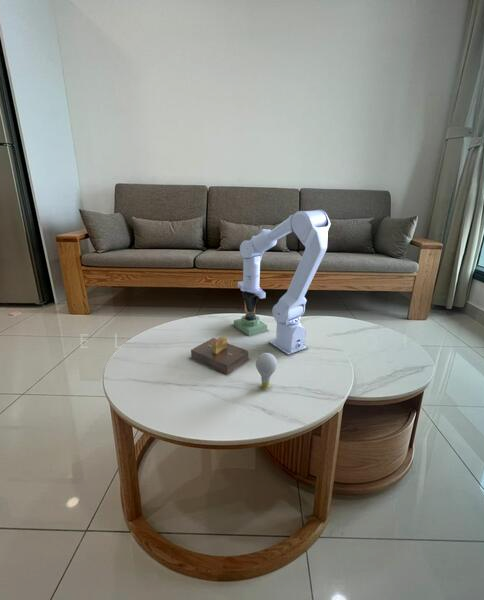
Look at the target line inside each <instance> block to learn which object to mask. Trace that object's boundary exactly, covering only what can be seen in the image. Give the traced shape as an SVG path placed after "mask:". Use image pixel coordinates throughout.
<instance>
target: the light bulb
mask: <svg viewBox="0 0 484 600" xmlns="http://www.w3.org/2000/svg"><path fill="white" fill-rule="evenodd" d="M277 367H278V361H277V358H276V356H275V355H274V354H272V353H271V352H263V353H261V354H259V355H258V356H257V358H256V360H255V369H256V370H257V372H258V373H259V375H260V377H261V379H260V380H261V388H263V389H268V388H269V387H270V386H271V385H270V381H271V377H272V375H273V374H274V373H275V372H276V370H277Z"/></svg>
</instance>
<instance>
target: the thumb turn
mask: <svg viewBox="0 0 484 600" xmlns="http://www.w3.org/2000/svg"><path fill="white" fill-rule="evenodd" d="M215 339H216V340H214V341H213V342H212V353H214V354H217V353H219V352H221V351H222V350H224V349H226V348H227V343H228V337H227V336H225V335H221V336H220V337H218V338H215Z"/></svg>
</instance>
